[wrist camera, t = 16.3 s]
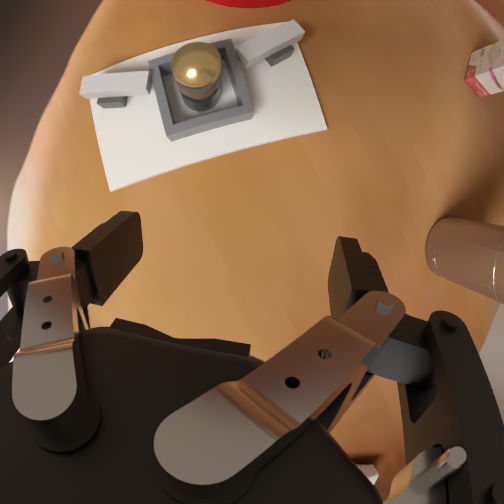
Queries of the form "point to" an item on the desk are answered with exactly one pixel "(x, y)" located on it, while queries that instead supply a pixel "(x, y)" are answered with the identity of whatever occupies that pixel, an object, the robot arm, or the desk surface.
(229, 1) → the toy clock
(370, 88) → the desk surface
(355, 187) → the desk surface
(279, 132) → the shaft rig
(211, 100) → the gold lidded jar
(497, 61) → the ink cartridge box
